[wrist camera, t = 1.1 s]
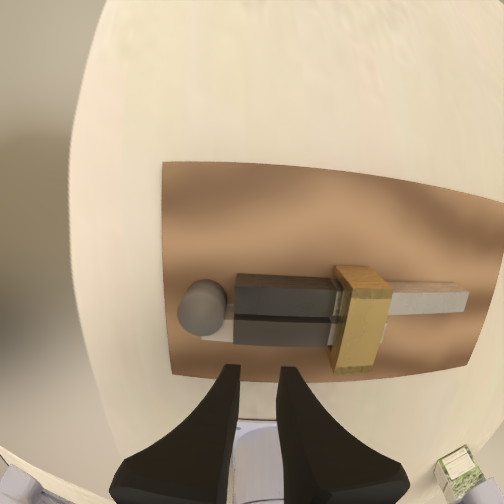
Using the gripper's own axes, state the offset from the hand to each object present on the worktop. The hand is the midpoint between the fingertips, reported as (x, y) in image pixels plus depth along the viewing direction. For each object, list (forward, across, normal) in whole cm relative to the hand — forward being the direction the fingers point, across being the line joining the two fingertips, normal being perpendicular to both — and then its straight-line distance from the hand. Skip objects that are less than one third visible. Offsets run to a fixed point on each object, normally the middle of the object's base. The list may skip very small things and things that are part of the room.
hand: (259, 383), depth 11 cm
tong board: (+9, -8, -1) cm, 12 cm away
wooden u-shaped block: (+8, -6, 0) cm, 10 cm away
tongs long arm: (+8, -7, -1) cm, 11 cm away
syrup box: (+10, -34, +30) cm, 46 cm away
